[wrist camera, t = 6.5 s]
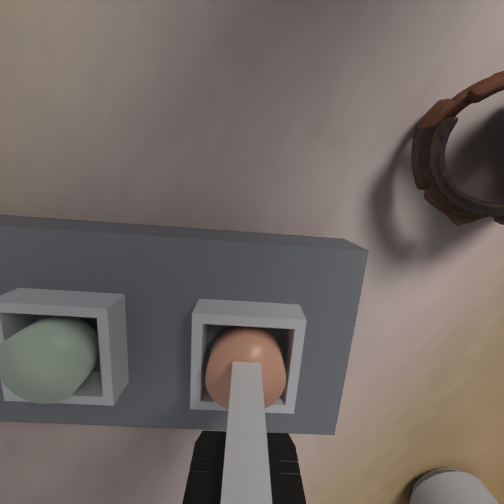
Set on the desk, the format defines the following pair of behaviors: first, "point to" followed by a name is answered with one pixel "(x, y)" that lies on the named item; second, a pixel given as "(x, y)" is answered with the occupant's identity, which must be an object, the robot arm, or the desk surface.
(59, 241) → the console
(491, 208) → the dark brown curved piece
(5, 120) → the desk surface
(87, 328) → the sage button
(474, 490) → the can
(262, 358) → the terracotta button
